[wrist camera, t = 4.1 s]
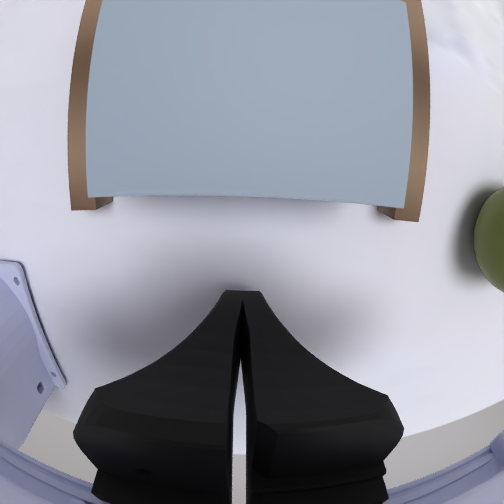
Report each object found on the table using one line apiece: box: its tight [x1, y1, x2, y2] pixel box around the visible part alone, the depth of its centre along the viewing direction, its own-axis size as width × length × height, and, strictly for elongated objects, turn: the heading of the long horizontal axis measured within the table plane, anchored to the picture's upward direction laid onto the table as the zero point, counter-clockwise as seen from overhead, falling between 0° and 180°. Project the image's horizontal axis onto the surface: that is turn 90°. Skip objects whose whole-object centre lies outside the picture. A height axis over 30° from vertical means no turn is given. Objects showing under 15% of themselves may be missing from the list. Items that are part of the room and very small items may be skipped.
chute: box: [68, 0, 430, 222], centre depth 8 cm, size 10×13×2 cm
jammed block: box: [86, 0, 413, 208], centre depth 7 cm, size 6×8×4 cm
